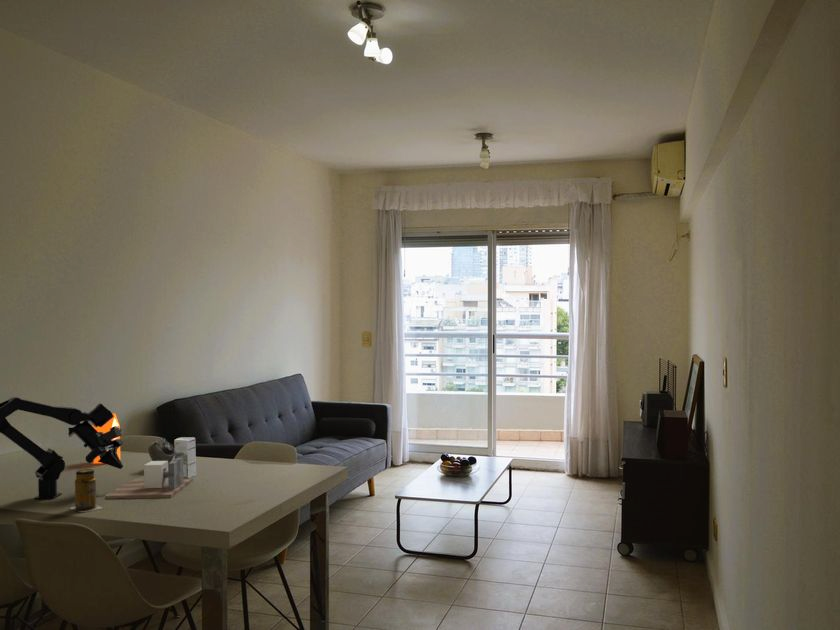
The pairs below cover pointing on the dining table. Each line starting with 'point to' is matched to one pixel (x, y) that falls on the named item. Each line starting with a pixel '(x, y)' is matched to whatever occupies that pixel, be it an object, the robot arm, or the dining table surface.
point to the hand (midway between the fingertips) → (121, 467)
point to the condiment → (85, 491)
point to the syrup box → (186, 455)
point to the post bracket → (168, 491)
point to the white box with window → (155, 474)
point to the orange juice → (105, 429)
